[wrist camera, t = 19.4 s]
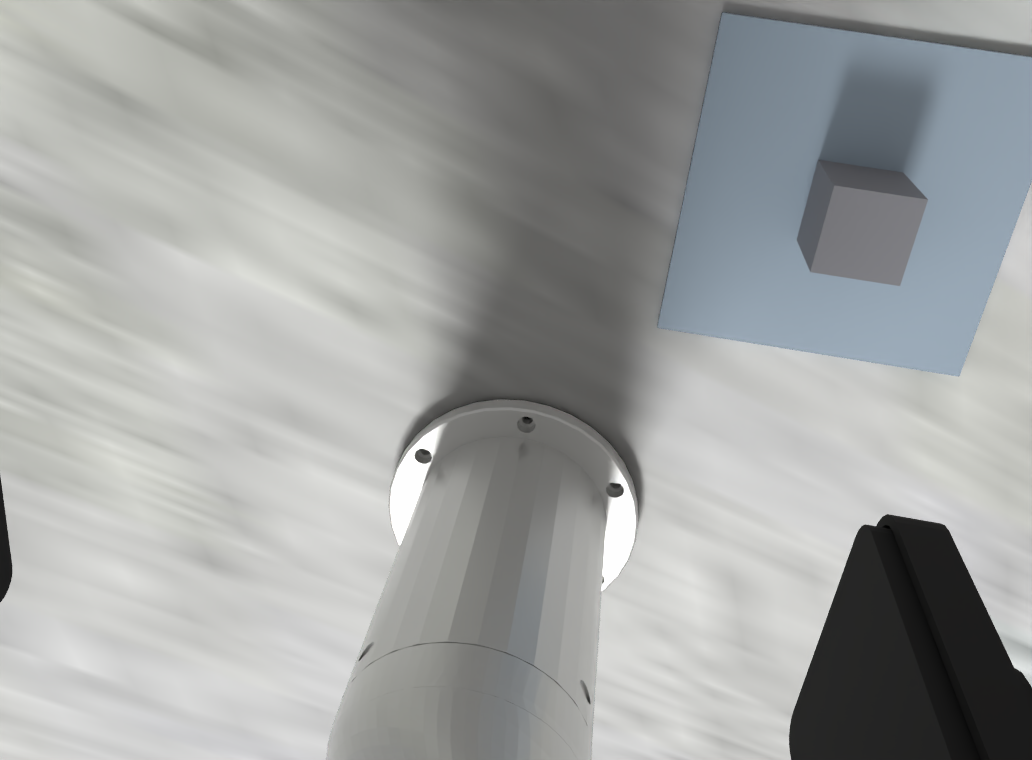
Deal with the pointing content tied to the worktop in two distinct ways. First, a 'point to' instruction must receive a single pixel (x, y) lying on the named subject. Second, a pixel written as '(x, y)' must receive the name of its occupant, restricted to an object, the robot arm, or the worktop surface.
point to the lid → (850, 193)
